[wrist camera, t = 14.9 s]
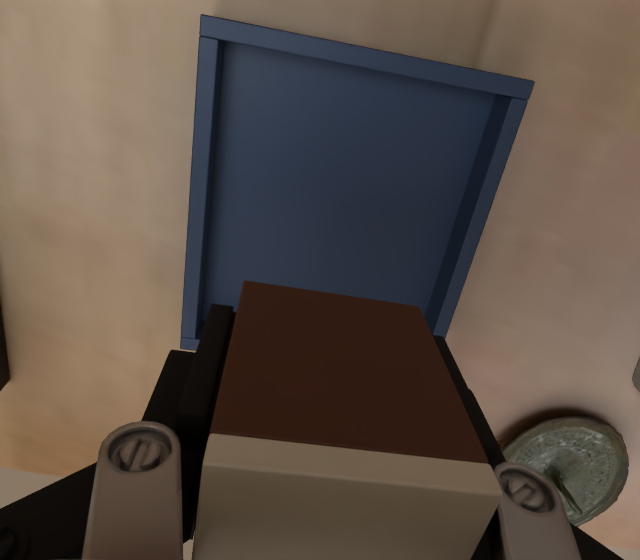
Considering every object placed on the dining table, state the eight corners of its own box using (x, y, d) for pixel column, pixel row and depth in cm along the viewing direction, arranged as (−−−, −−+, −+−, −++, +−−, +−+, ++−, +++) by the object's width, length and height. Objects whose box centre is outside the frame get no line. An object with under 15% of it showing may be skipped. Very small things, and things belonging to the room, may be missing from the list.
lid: (461, 488, 39) (482, 556, 35) (488, 418, 32) (519, 493, 28) (588, 476, 39) (623, 542, 35) (641, 405, 33) (690, 477, 29)
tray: (210, 16, 22) (200, 13, 20) (513, 77, 24) (535, 81, 21) (188, 325, 29) (179, 349, 27) (421, 355, 31) (431, 379, 28)
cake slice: (243, 279, 12) (202, 463, 7) (419, 305, 12) (504, 494, 7) (225, 418, 13) (181, 642, 8) (377, 435, 14) (421, 657, 9)
